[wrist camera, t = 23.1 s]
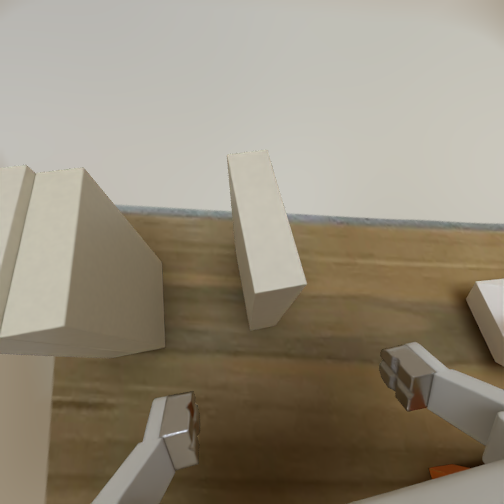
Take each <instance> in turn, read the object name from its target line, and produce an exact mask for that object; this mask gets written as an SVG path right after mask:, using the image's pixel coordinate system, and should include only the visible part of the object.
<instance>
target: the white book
mask: <svg viewBox="0 0 504 504" xmlns="http://www.w3.org/2000/svg"><path fill="white" fill-rule="evenodd" d="M227 162H228V173H229V184H230V195H231V206H232V217H233V228H234V239H235V250H236V256H237V261H238V267H239V273H240V278H241V284H242V289H243V295H244V300H245V306H246V311H247V317H248V322H249V328H250V330H256V329H261V328H266V327H271V326H275V325H276V324H277V323H278V321H279V320H280V319H281V317H282V316H283V315H284V313H285V312H286V311H287V309H288V308H289V307H290V305H291V304H292V303H293V302H294V300H295V299H296V298H297V296H298V295H299V294H300V292H301V291H302V290H303V288H304V287H305V286H306V284H307V282H306V279H305V275H304V272H303V269H302V265H301V262H300V258H299V255H298V252H297V248H296V245H295V242H294V238H293V235H292V231H291V228H290V225H289V221H288V218H287V215H286V211H285V208H284V205H283V201H282V198H281V194H280V191H279V188H278V184H277V181H276V177H275V174H274V171H273V167H272V164H271V161H270V157H269V154H268V151H267V150H261V151H252V152H244V153H236V154H228V155H227Z"/></svg>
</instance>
